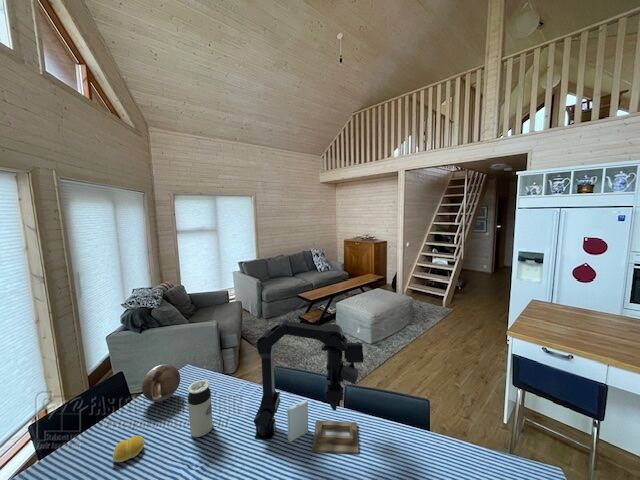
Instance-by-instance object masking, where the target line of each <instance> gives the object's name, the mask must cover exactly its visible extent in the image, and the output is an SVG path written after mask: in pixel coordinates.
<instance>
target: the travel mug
mask: <svg viewBox="0 0 640 480" xmlns="http://www.w3.org/2000/svg"><path fill="white" fill-rule="evenodd" d="M209 386H210V382H209V381H208V380H206V379H205V380H204V379H201V380H197V381H194V382H192V383H191V384H190V385H189V386H188V388H187V391H188V393H189V394H188V395H187V402H188V403H187V405H188V406H187V407H188V417H189V418H188V419H189V430H190V431H189V433H190V435H191V436H192V437H195V438H200V437H203V436H205V435H207V434H208V433H209V432H210V431H211V430H212V429H213V427H214V426H213V425H214V424H213V423H214V422H213V409H212V406H213V405H212V395H211V393H212V392H211V389H210V388H209Z"/></svg>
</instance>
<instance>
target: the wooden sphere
mask: <svg viewBox="0 0 640 480" xmlns="http://www.w3.org/2000/svg"><path fill="white" fill-rule="evenodd" d="M180 383H181V373H180V371H179V369H178V368H177V367H175V366H174V365H173V364H168V363H167V364H166V363H165V364H164V363H163V364H160V365H157V366H154V367H153V368H152V369H150V371H148V372H147V374H146V375H145V376H144V378H143V381H142V384H141V391H142V394H143V396H144V397H145V398H146V399H147V400H148V401H151V402H155V403H156V402H163V401H166V400H167V399H169V398H171V397H172V396H173V395H174V394H175V393H176V392H177V390H178V388H179V386H180Z"/></svg>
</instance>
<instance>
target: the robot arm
mask: <svg viewBox="0 0 640 480" xmlns="http://www.w3.org/2000/svg"><path fill="white" fill-rule="evenodd" d="M284 336H292V337H299V338H305V339H312V340H316V341H319V342H320V343H322V345H321V351H325V352H326V381H329V383H330V384H327V385H326V386H325V387H324V399H325V400H326V401H327V402H328V403H329V405H330V407H331V409H332V411H337V407H338V403H339V401H343V400H344V387H343V386H342V385H341V384H340V383H344V381H347V382H348V383H351V384H352V385H355V384H356V383H357V380H358V377H359V370H358V368H357V367H356V366H355V364H364V350H363V343H362V342H348V339H347V337H346V336H345V335H344V333H343V329H342V327H341V326H340V325H339V324H333V323H331V324H327V323H326V324H324V325H314V324H307V323H301V322H294V321H290V320H285V319H284V320H282V321H281V322H280V323H277V324H276V325H274V326H273V327H272V328H270V329H266V330H264V331H262V333H261V334H260V336H259V338H258V339H257V341H256V349H257V354H258V355H259V357H260V359H261V377H262V378H261V381H262V397H261V401H260V405H259V407H258V409H257V412H256V414H255V417H254V419H253V423H254V426H255V435H254V439H257V440H272V438H273V436H274V434H275V432H276V429H277V427H276V426H277V425H276V418H275V416H276V413H277V412H278V409H279V406H280V403H281V396H280V395H281V392H280V391H276V388H275V387H276V386H275V368H274V367H275V365H274V363H275V361H274V360H275V359H274V358H275V357H274V354H275V353H274V352H275V349H276V345H277V342H278V341H280V340H281V338H283V337H284ZM343 352H344V354H343ZM343 355H344V360H345V362H346V363H347V364H346V365H345V364H344V361H343Z"/></svg>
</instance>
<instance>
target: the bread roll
mask: <svg viewBox="0 0 640 480" xmlns="http://www.w3.org/2000/svg"><path fill="white" fill-rule="evenodd" d="M144 447H145V439H144V437H143V436H141V435H133V436H132V437H130V438H128V439H123V440H121V441H120V442H119V443H118V444H117V445H116V446H115V448H114V450H113V453H112V461H113V462H115V463H120V462H121V463H122V462H125V461H127V460H129V459H133V458H135V457H136V456H137V455H139V454H140V452H141V451H142V449H143V448H144Z"/></svg>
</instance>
